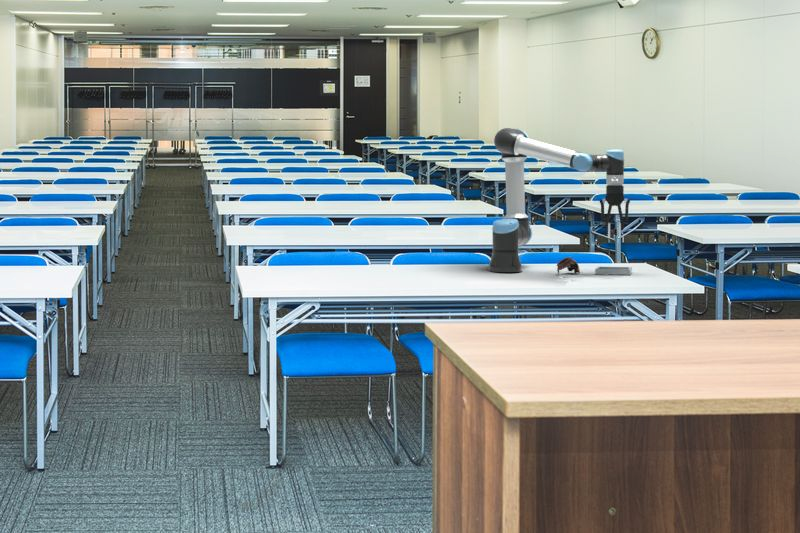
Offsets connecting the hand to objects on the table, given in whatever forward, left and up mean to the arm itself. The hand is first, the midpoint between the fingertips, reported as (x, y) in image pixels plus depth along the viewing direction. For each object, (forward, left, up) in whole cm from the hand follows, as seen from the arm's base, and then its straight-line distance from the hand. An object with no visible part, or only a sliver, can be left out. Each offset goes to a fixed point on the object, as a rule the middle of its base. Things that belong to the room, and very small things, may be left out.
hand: (614, 237), depth 476 cm
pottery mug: (-18, -3, -17) cm, 25 cm away
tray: (0, 0, -16) cm, 16 cm away
